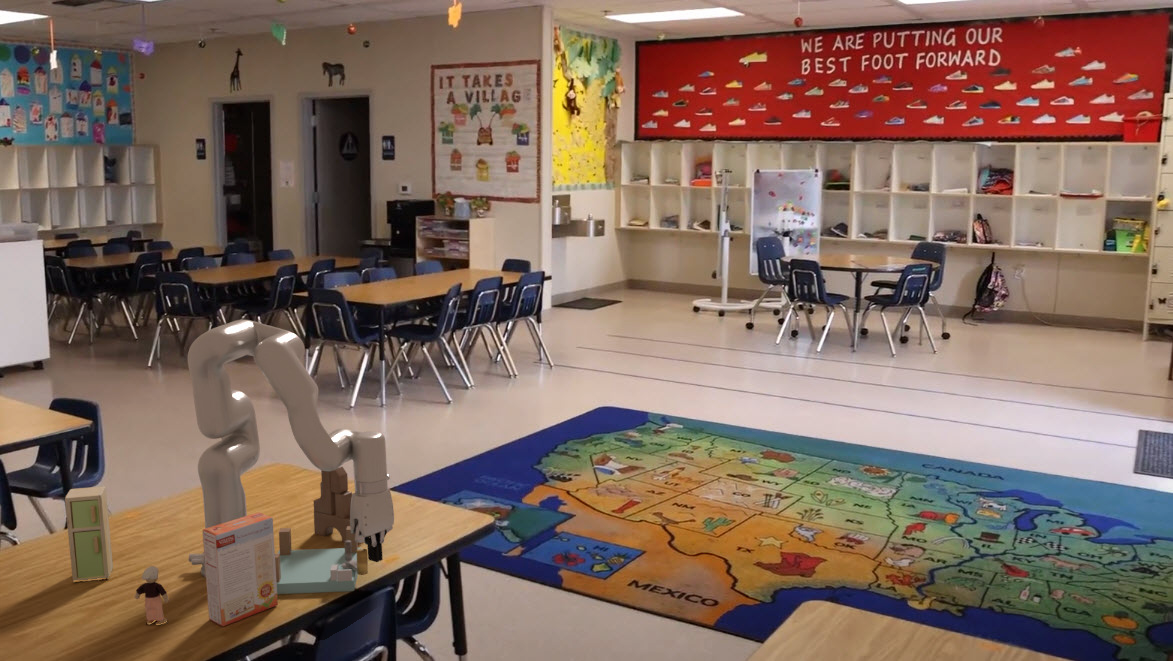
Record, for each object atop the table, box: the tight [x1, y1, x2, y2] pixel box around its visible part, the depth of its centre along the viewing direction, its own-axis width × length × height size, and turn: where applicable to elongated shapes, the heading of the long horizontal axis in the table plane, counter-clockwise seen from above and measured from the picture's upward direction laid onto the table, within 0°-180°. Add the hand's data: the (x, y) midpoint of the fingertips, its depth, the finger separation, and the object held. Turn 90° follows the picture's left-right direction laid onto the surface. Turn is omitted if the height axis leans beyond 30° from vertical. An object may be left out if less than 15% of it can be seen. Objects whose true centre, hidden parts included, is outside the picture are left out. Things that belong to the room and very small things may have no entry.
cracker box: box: [202, 511, 279, 627], centre depth 231 cm, size 14×6×21 cm, turn 140°
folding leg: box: [344, 540, 369, 576], centre depth 249 cm, size 9×2×6 cm, turn 39°
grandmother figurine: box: [134, 565, 170, 624], centre depth 226 cm, size 8×4×13 cm, turn 92°
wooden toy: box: [313, 465, 353, 543], centre depth 276 cm, size 16×7×25 cm, turn 58°
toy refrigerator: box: [64, 486, 114, 582], centre depth 248 cm, size 8×7×21 cm
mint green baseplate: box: [275, 526, 362, 595], centre depth 252 cm, size 20×20×8 cm
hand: (375, 559), depth 249 cm, fingers closed
